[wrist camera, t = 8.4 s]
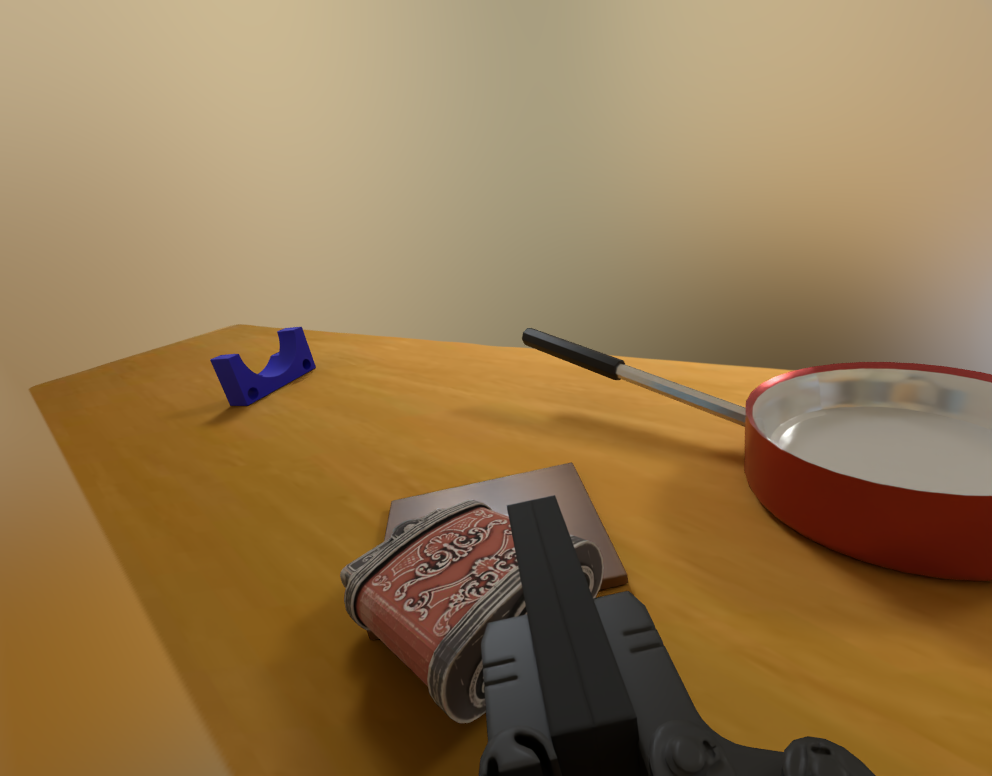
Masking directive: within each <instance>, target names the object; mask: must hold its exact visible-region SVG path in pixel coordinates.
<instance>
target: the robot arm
mask: <svg viewBox="0 0 992 776" xmlns="http://www.w3.org/2000/svg"><path fill="white" fill-rule="evenodd" d="M506 506H507V511H508V516H509V522H510V527H511V532H512V537H513V542H514V548H515V553H516V558H517V563H518V568H519V574H520V579H521V584H522V589H523V594H524V600H525V605H526V610H527V614H526V615H521V616H516V617H512V618H507V619H503V620H498V621H493V622H489V623H488V624H487V627H486V630H485V633H484V636H483V639H482V641H481V651H482V664H483V678H484V691H485V705H486V719H487V732H488V744H487V746H486V748H485V750H484V752H483V755H482V757H481V760H480V769H479V776H875V775H874V774H873V773H872V772H871V771H870V770H869V769H868V768H867V767H866V766H865V765H864V764H863V763H862V762H861V761H860V760H859V759H858V758H856V757H855V756H854V755H853V754H851V753H850V752H849V751H848V750H846V749H845V748H844V747H842V746H839V745H837V744H835V743H833V742H831V741H828V740H826V739H822V738H815V737H808V736H807V737H804V738H800V739H796V740H793V741H792V742H791V743H790V745H789V746H788V747H787V748H786V749H785V750H784V752H778V751H772V750H765V749H758V748H751V747H746V746H742V745H739V744H735V743H733V742H731V741H729V740H727V739H725V738H723V737H721V736H720V735H719V734H717V733H716V732H715V731H713V730H712V729H711V728H710V727H709V726H708V725H707V724H706V723H705V722H704V721H703V720H702V718H701V717H700V715H699V713H698V712H697V710H696V709H695V707H694V705H693V703H692V701H691V699H690V697H689V694H688V692H687V690H686V688H685V686H684V684H683V682H682V680H681V678H680V676H679V674H678V672H677V670H676V668H675V666H674V664H673V662H672V660H671V658H670V656H669V654H668V652H667V650H666V648H665V646H664V645H663V642H662V640H661V637H660V635H659V633H658V631H657V629H655V625H654V623H653V621H652V619H651V617H650V615H649V613H648V611H647V609H646V607H645V605H643V604H642V603H641V602H640V601H639V600H638V599H637V598H636V597H635V596H634V595H632V594H631V593H630V592H629V591H625V592H621V593H616V594H612V595H607V596H602V597H598V598H593V597H592V594H591V591H590V589H589V586H588V583H587V580H586V578H585V575H584V572H583V570H582V567H581V564H580V561H579V559H578V556H577V553H576V551H575V548H574V545H573V542H572V540H571V537H570V534H569V532H568V529H567V526H566V523H565V521H564V518H563V515H562V513H561V510H560V507H559V504H558V502H557V499H556V496H555V495H553V496H548V497H544V498H539V499H534V500H530V501H525V502H520V503H516V504H511V505H506Z"/></svg>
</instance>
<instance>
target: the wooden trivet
mask: <svg viewBox="0 0 992 776" xmlns="http://www.w3.org/2000/svg"><path fill="white" fill-rule="evenodd" d="M553 495H555V496H556V499H557V502H558V504H559V507H560V510H561V513H562V515H563V518H564V521H565V523H566V526H567V529H568V532H569V534H570V535H574V536H576V537H579V538H582V539H585V540H588V541H590V542H593V543H595V544H596V545H597V547H598V548H599V549H600V552H601V555H602V558H603V567H604V569H603V579H602V583H601V586H600V589H599V590H601V589H606V588H610V587H615V586H619V585H624V584H627V583H628V578H627V573H626V571H625V569H624V567H623V565H622V563H621V561H620V559H619V557H618V555H617V553H616V551H615V549H614V547H613V544H612V542H611V540H610V538H609V536H608V534H607V532H606V530H605V528H604V526H603V524H602V522H601V520H600V518H599V516H598V514H597V512H596V510H595V508H594V506H593V504H592V502H591V500H590V498H589V496H588V493H587V491H586V489H585V487H584V485H583V483H582V481H581V479H580V477H579V475H578V473H577V471H576V469H575V467H574V465H573V463H568V464H563V465H558V466H553V467H549V468H544V469H539V470H535V471H530V472H525V473H521V474H516V475H511V476H507V477H502V478H497V479H493V480H488V481H483V482H479V483H474V484H469V485H465V486H460V487H455V488H451V489H446V490H441V491H436V492H432V493H427V494H422V495H418V496H413V497H408V498H404V499H399V500H394V501H392V502H391V507H390V513H389V518H388V523H387V529H386V534H385V539H384V542H385V541H386V540H388V539H390V538H391V534H392V533H393V529H394V528H395V527H396V526H397V525H399V524H400V523H402V522H404V521H407V520H411V519H417V518H423V517H425V516H426V515H428V514H429V513H431V512H433V511H434V510H436V509H438V508H441V509H446V508H449V507H451V506H454V505H456V504H459V503H461V502H464V501H467V500H475V501H478V502H481V503H484V504H486V505H488V506H489V507H490V508H491V509H492V510H493V511H494V512H497V513H500V514H503V515H505V516H508V511H507V506H506V505H511V504H516V503H520V502H525V501H530V500H534V499H539V498H544V497H548V496H553ZM508 517H509V516H508ZM367 633H368V635H369V638H370V640H374V639H379V638H378V637H377V636H376V635H375V634H374V633H373V632H372V631H371V630H367Z"/></svg>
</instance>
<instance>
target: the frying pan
mask: <svg viewBox="0 0 992 776" xmlns="http://www.w3.org/2000/svg"><path fill="white" fill-rule="evenodd" d="M522 340H523V342H524V344H525V345H527V346H529V347H532V348H535V349H537V350H540V351H542V352H545V353H547V354H550V355H552V356H555V357H557V358H560V359H562V360H565V361H568V362H570V363H573V364H575V365H578V366H580V367H583V368H585V369H588V370H590V371H593V372H595V373H598V374H601V375H603V376H606V377H608V378H611V379H613V380H621V379H622V380H625V381H627V382H630V383H633V384H635V385H638V386H640V387H643V388H645V389H648V390H651V391H653V392H656V393H658V394H661V395H664V396H666V397H669V398H671V399H674V400H676V401H679V402H682V403H684V404H687V405H689V406H692V407H695V408H697V409H700V410H702V411H705V412H707V413H710V414H713V415H715V416H718V417H720V418H723V419H726V420H728V421H731V422H733V423H736V424H738V425H741V426H744V427H745V458H744V471H745V475H746V478H747V481H748V484H749V486H750V488H751V490H752V491H753V493H754V494H755V495H756V497H757V498H758V500H759V501H760V502H761V504H762V505H764V506H765V507H766V508H767V509H768V510H769V511H770V512H771V513H772V514H773V515H774V516H776V517H777V518H778V519H779V520H780V521H782V522H783V523H785V524H786V525H788V526H789V527H791V528H792V529H794V530H795V531H797V532H798V533H800V534H801V535H803V536H805V537H807V538H809V539H811V540H813V541H815V542H817V543H819V544H821V545H823V546H825V547H827V548H829V549H831V550H834V551H837V552H839V553H842V554H845V555H847V556H850V557H853V558H855V559H858V560H861V561H863V562H867V563H870V564H874V565H878V566H882V567H885V568H889V569H893V570H897V571H900V572H905V573H911V574H917V575H923V576H929V577H935V578H941V579H953V580H970V581H992V375H991V374H986V373H982V372H976V371H970V370H964V369H958V368H951V367H944V366H935V365H925V364H914V363H895V362H856V363H841V364H830V365H823V366H815V367H809V368H805V369H800V370H795V371H791V372H788V373H785V374H782V375H779V376H776V377H774V378H772V379H770V380H768V381H766V382H764V383H762V384H761V385H759V386H758V387H757V388H756V389H755V390H753V391H752V392H751V394H750V396H749V397H748V399H747V401H746V408H744V407H741V406H739V405H736V404H733V403H730V402H728V401H725V400H722V399H719V398H716V397H714V396H711V395H708V394H705V393H703V392H700V391H697V390H694V389H691V388H689V387H686V386H683V385H680V384H678V383H675V382H672V381H669V380H666V379H664V378H661V377H658V376H655V375H652V374H650V373H647V372H644V371H641V370H639V369H636V368H633V367H630V366H627V365H625V363H624V361H623V360H620V359H617V358H614V357H612V356H609V355H606V354H603V353H600V352H597V351H595V350H592V349H589V348H586V347H583V346H581V345H578V344H575V343H572V342H569V341H566V340H564V339H561V338H558V337H555V336H552V335H549V334H547V333H544V332H541V331H538V330H535V329H532V328H527V329H526V330H525V331H524V332H523V337H522Z"/></svg>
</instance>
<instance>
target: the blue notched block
mask: <svg viewBox="0 0 992 776" xmlns="http://www.w3.org/2000/svg"><path fill="white" fill-rule="evenodd" d="M277 333H278V336H279V341H280V351H279V352H278V353H276V354H274V355H272V356H271V357H270V360H269V362H268V364H267V366H266V367H265V368H264V369H263V371H261V372H260V373H259V374H256V373H254V372H252V371H251V370H250V369H249V368H248V367H247V366H246V365H245V364H244V363H243V361H242V359H241V358H240V356H239V354H230V355H220V356H218V357H215V358H213V359H211V363H212V365H213V367H214V369H215V372H216V374H217V376H218V379H219V381H220V383H221V385H222V388H223V390H224V392H225V395H226V397H227V399H228V401H229V404H230V406H248V405H250V404H252V403H253V402H255V401H257V400H259V399H261V398H262V397H264V396H266V395H268V394H269V393H271V392H273V391H275V390H277V389H278V388H280V387H282V386H284V385H286V384H287V383H289V382H291V381H293V380H295V379H296V378H298V377H300V376H302V375H304V374H305V373H307V372H309V371H311V370H313V369H314V368H316V366H315V363H314V361H313V358H312V355H311V352H310V349H309V346H308V343H307V341H306V338H305V335H304V332H303V329H302V327H293V328H285V329H282V330H280V331H278V332H277Z"/></svg>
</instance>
